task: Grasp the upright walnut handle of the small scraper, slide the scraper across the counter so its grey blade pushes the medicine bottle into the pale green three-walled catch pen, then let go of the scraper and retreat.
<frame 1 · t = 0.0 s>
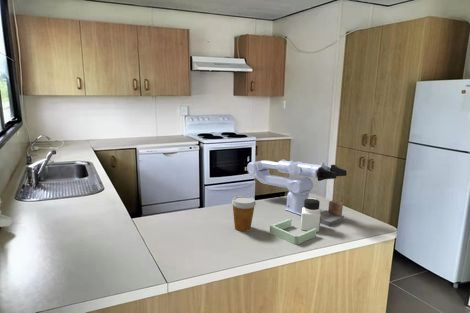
hand: (341, 174, 131), 22 cm above the counter, tool horizontal, fingers open, 7 cm apart
catch pen: (293, 234, 125), on the counter
disposable coffee cup: (242, 228, 129), on the counter
scraper: (334, 217, 144), on the counter
medicine bottle: (309, 228, 132), on the counter
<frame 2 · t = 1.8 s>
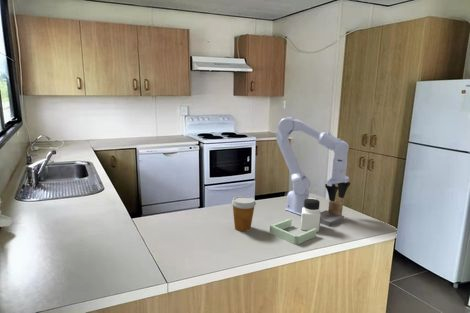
hand: (336, 199, 142), 8 cm above the counter, tool pointing down, fingers open, 7 cm apart
nothing on the counter moved.
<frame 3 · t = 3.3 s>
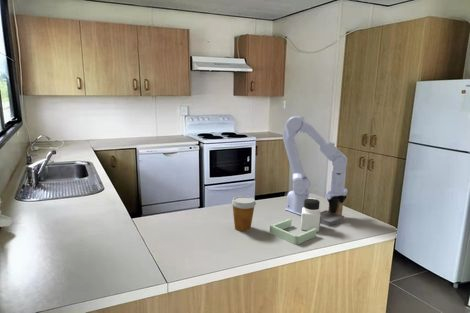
hand: (335, 211, 143), 3 cm above the counter, tool pointing down, fingers closed on scraper, 3 cm apart
scraper: (334, 217, 144), on the counter, touching gripper
everything else where it was.
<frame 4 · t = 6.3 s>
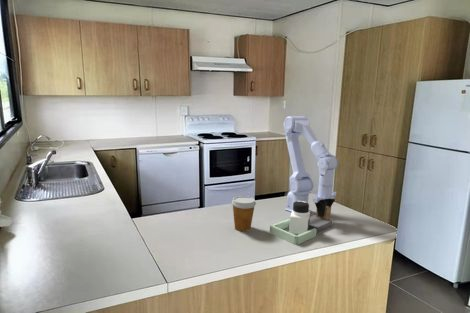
hand: (323, 215, 137), 3 cm above the counter, tool pointing down, fingers open, 3 cm apart
scraper: (322, 221, 138), resting on medicine bottle, touching gripper
medicine bottle: (298, 231, 128), on the counter, touching scraper
everything else where it was.
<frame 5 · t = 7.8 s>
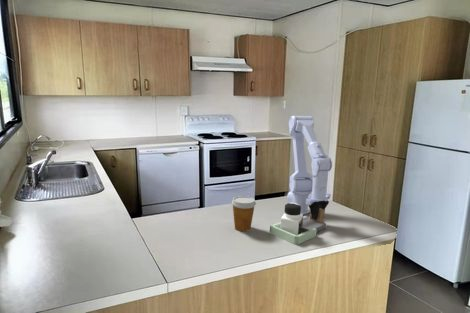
hand: (316, 217, 134), 3 cm above the counter, tool pointing down, fingers closed on scraper, 3 cm apart
scraper: (316, 224, 135), on the counter, touching gripper
medicine bottle: (290, 234, 125), on the counter
everything else where it was.
when the fingers open (3 cm above the counter, at t = 9.5 s): scraper moves 1 cm, on the counter.
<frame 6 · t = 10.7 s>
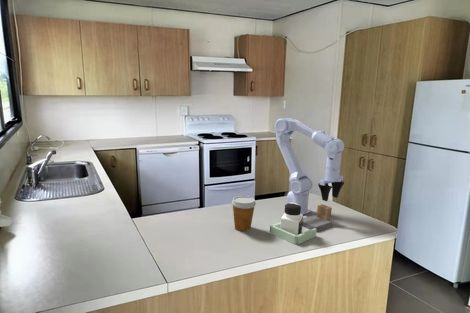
hand: (329, 198, 139), 10 cm above the counter, tool pointing down, fingers open, 7 cm apart
scraper: (323, 222, 138), on the counter
everything else where it was.
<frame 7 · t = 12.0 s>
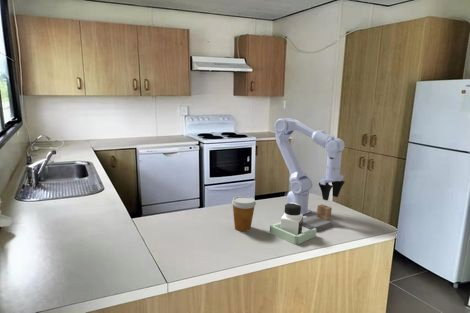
hand: (330, 198, 139), 10 cm above the counter, tool pointing down, fingers open, 7 cm apart
nothing on the counter moved.
at the end: medicine bottle 1.0 cm from the catch pen (horizontally); medicine bottle tilted 0°; the gripper is holding nothing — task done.
